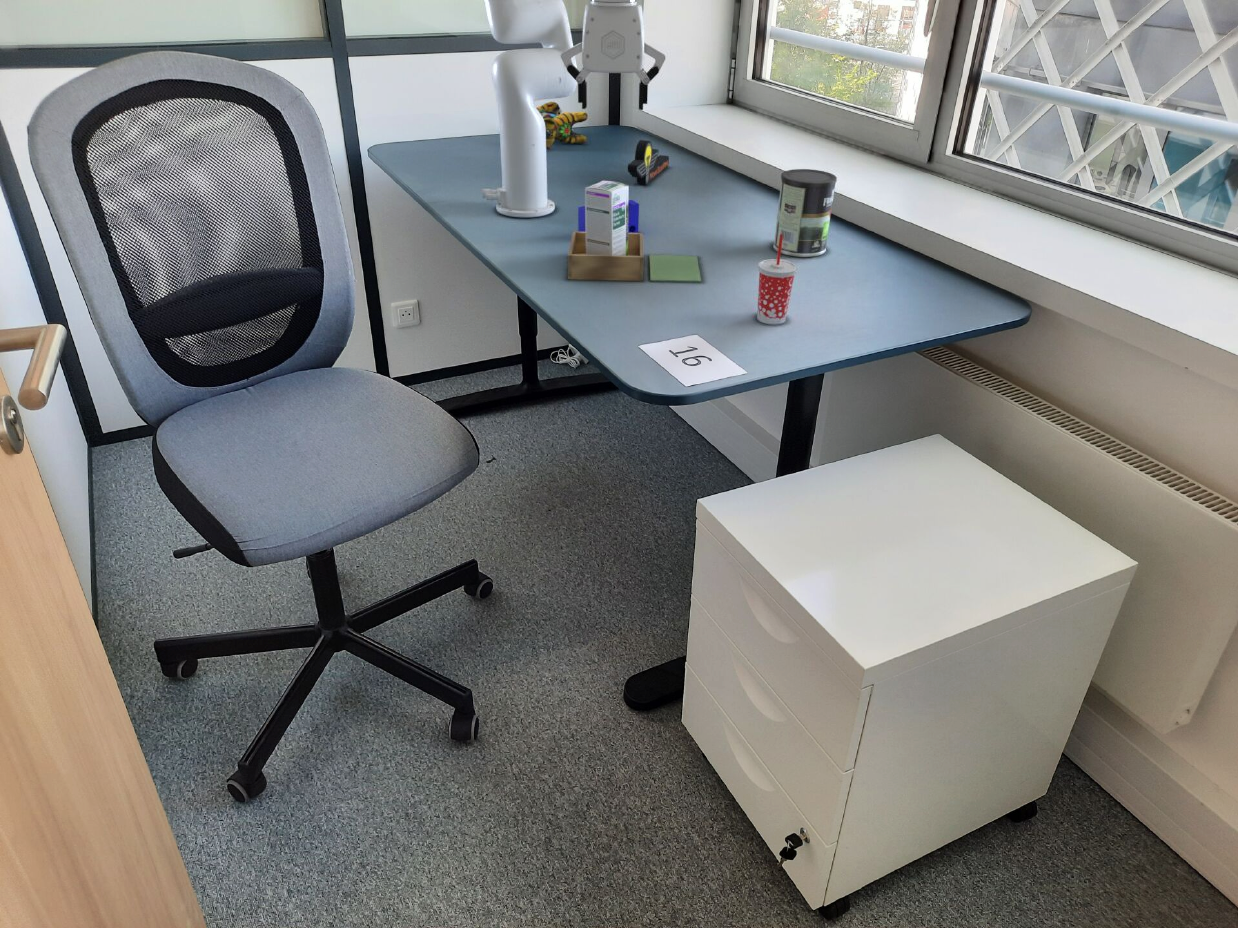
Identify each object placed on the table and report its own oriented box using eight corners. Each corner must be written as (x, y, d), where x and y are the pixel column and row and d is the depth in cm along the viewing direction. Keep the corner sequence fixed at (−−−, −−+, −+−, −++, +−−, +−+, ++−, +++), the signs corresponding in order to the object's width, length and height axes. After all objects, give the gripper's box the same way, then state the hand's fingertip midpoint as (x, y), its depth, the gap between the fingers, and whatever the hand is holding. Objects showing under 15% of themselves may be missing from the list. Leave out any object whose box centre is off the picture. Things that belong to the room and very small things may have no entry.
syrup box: (611, 272, 158) (612, 191, 150) (584, 266, 161) (584, 186, 153) (628, 263, 162) (630, 184, 154) (601, 257, 165) (602, 179, 157)
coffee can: (829, 244, 175) (840, 172, 167) (821, 260, 167) (832, 185, 159) (778, 237, 178) (787, 166, 170) (767, 253, 170) (776, 179, 162)
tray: (568, 279, 156) (568, 255, 154) (572, 254, 167) (572, 231, 165) (642, 281, 156) (643, 257, 154) (642, 255, 167) (642, 233, 165)
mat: (650, 281, 156) (650, 279, 156) (649, 256, 167) (649, 254, 167) (700, 282, 156) (701, 280, 156) (696, 257, 167) (696, 255, 167)
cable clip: (627, 227, 182) (628, 198, 178) (638, 233, 178) (639, 204, 175) (575, 234, 177) (575, 205, 174) (584, 241, 174) (584, 211, 170)
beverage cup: (776, 329, 139) (787, 243, 132) (744, 319, 143) (753, 234, 135) (797, 318, 143) (809, 234, 136) (765, 308, 147) (775, 225, 139)
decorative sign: (635, 194, 202) (637, 149, 196) (626, 193, 202) (628, 148, 197) (668, 166, 223) (670, 125, 218) (660, 165, 224) (662, 124, 219)
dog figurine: (553, 148, 254) (504, 152, 243) (550, 102, 250) (499, 104, 239) (599, 146, 240) (549, 150, 229) (596, 97, 236) (545, 99, 225)
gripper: (558, -5, 137) (560, 111, 146) (668, -3, 137) (664, 113, 146) (561, -8, 144) (563, 103, 153) (667, -7, 144) (662, 105, 153)
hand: (612, 108), depth 150 cm, fingers open, 9 cm apart
